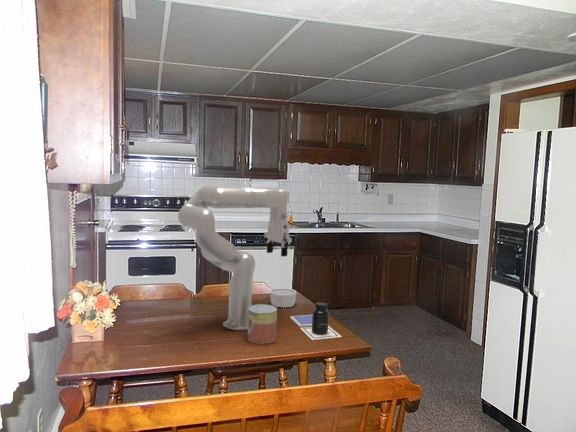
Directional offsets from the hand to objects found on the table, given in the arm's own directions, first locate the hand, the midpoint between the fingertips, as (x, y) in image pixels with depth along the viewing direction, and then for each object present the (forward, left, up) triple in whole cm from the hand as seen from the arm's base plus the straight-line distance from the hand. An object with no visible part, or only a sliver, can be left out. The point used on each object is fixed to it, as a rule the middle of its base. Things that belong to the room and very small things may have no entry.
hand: (276, 254), depth 196 cm
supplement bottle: (-9, -26, -28) cm, 40 cm away
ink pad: (+1, -16, -28) cm, 33 cm away
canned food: (-27, -9, -29) cm, 40 cm away
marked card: (-9, -27, -28) cm, 40 cm away
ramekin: (+16, +4, -29) cm, 33 cm away
